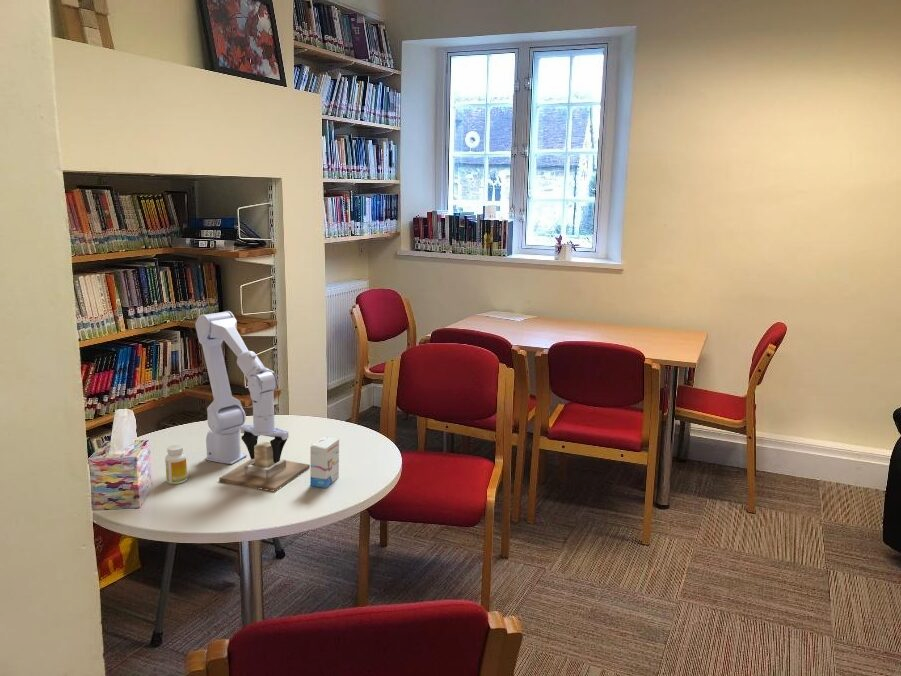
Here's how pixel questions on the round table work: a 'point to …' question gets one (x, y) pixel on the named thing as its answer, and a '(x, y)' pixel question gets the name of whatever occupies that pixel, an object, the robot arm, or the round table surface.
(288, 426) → the round table surface
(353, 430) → the round table surface
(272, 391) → the robot arm
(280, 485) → the well stand
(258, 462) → the maple post
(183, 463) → the supplement bottle
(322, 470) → the ink box
